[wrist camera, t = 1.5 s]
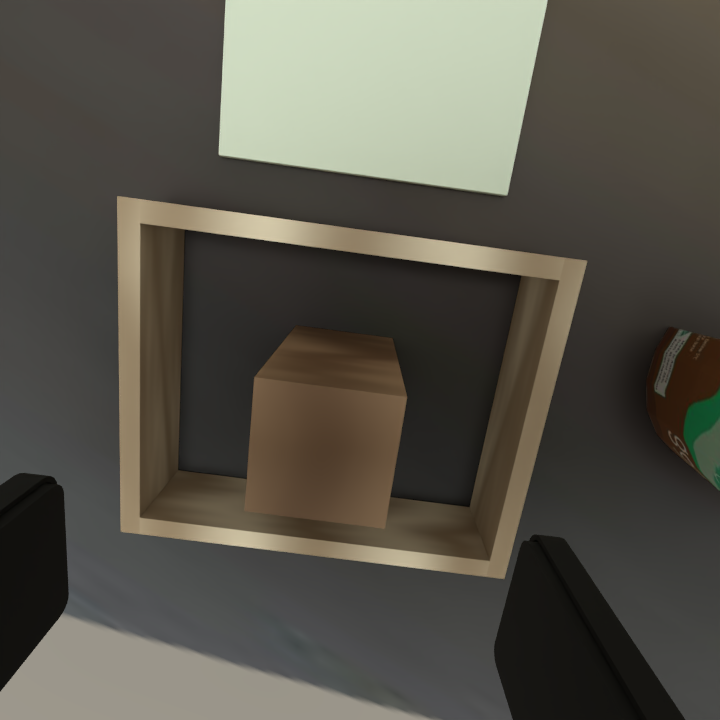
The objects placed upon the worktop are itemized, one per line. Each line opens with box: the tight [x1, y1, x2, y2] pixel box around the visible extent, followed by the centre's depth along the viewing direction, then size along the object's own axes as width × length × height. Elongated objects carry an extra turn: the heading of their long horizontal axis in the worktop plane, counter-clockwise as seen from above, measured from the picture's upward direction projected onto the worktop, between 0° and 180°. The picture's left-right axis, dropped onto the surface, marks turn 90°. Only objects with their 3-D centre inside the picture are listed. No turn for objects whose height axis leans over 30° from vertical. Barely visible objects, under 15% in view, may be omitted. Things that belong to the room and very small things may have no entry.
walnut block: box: [244, 325, 407, 529], centre depth 18 cm, size 4×4×8 cm
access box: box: [117, 196, 587, 579], centre depth 19 cm, size 17×14×4 cm
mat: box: [219, 0, 548, 196], centre depth 17 cm, size 12×12×1 cm
